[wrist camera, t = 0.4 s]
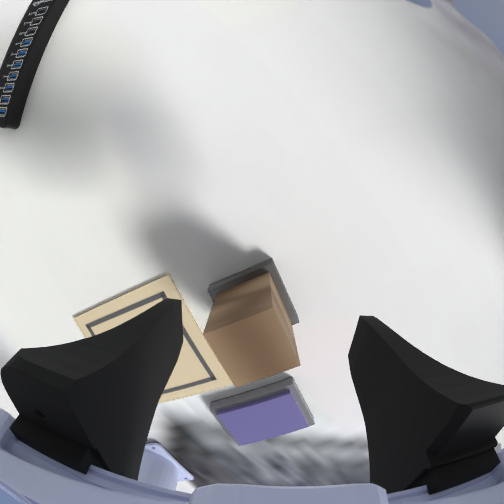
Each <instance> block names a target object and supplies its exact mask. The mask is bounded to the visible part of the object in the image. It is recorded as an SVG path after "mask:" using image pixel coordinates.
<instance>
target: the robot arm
mask: <svg viewBox="0 0 504 504" xmlns="http://www.w3.org/2000/svg"><path fill="white" fill-rule="evenodd" d="M182 344H183V322H182V300H178V299H171V298H166V299H164V300H162V301H161V302H159V303H157V304H156V305H154V306H152V307H151V308H149V309H147V310H146V311H144V312H142V313H141V314H139V315H137V316H135V317H134V318H132V319H130V320H128V321H126V322H124V323H122V324H120V325H118V326H116V327H114V328H112V329H110V330H107V331H105V332H102V333H100V334H97V335H95V336H92V337H88V338H85V339H81V340H78V341H75V342H71V343H66V344H61V345H55V346H49V347H39V348H23V349H20V350H19V351H18V352H17V353H16V354H15V355H14V356H13V357H12V358H11V359H10V360H9V361H8V362H7V363H6V365H5V366H4V367H3V368H2V369H1V379H2V383H3V385H4V387H5V390H6V391H7V393H8V395H9V397H10V399H11V400H12V402H13V404H14V406H15V407H16V409H17V411H18V412H19V416H18V417H17V418H16V420H15V419H14V418H13V417H12V416H11V415H10V414H9V413H8V412H6V411H5V410H3V409H1V408H0V487H1V488H2V489H3V490H4V491H6V492H7V493H9V494H10V495H11V496H13V497H14V498H15V499H17V500H18V501H20V502H21V503H23V504H504V448H503V449H502V450H500V451H499V452H498V453H496V451H495V449H494V447H496V446H497V444H498V442H497V440H496V438H495V436H496V435H497V434H498V432H499V431H500V430H501V429H502V428H503V426H504V385H501V384H496V383H491V382H487V381H483V380H480V379H477V378H474V377H471V376H468V375H466V374H463V373H460V372H458V371H456V370H454V369H451V368H449V367H447V366H445V365H443V364H441V363H440V362H438V361H436V360H434V359H433V358H431V357H429V356H428V355H426V354H424V353H423V352H421V351H420V350H419V349H417V348H416V347H414V346H413V345H411V344H410V343H409V342H407V341H406V340H405V339H403V338H402V337H401V336H399V335H398V334H397V333H396V332H394V331H393V330H392V329H390V328H389V327H388V326H387V325H385V324H384V323H383V322H381V321H380V320H379V319H377V318H375V317H374V316H360V317H359V320H358V324H357V327H356V331H355V334H354V337H353V341H352V344H351V347H350V351H349V354H348V358H349V365H350V371H351V376H352V380H353V383H354V387H355V390H356V393H357V396H358V400H359V403H360V406H361V410H362V413H363V417H364V421H365V426H366V433H367V440H368V450H369V461H370V483H367V484H344V485H331V486H310V487H280V486H258V485H245V484H213V485H208V486H203V487H199V488H197V489H195V490H194V492H193V493H192V494H190V493H185V492H180V491H175V490H176V486H177V482H178V481H186V480H193V479H194V476H193V475H192V474H190V473H189V472H188V471H187V470H186V469H185V468H184V467H183V466H182V465H181V464H180V463H179V462H177V461H176V460H175V459H174V458H173V457H172V456H171V455H170V454H169V453H168V452H167V451H166V450H165V449H164V448H163V447H162V446H161V445H160V444H159V443H149V444H146V441H147V437H148V433H149V430H150V426H151V423H152V420H153V416H154V413H155V410H156V407H157V405H158V402H159V400H160V397H161V395H162V393H163V391H164V389H165V387H166V385H167V382H168V380H169V378H170V376H171V374H172V372H173V370H174V367H175V365H176V363H177V361H178V358H179V355H180V351H181V348H182Z"/></svg>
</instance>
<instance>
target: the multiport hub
mask: <svg viewBox="0 0 504 504" xmlns="http://www.w3.org/2000/svg"><path fill="white" fill-rule="evenodd" d="M68 2H69V0H32V2H31V4H30V5H29V7H28V9H27V11H26V13H25V15H24V17H23V18H22V20H21V22H20V24H19V26H18V28H17V31H16V33H15V35H14V37H13V39H12V41H11V44H10V46H9V48H8V51H7V53H6V56H5V58H4V61H3V63H2V66H1V68H0V127H1V128H11V129H17V128H18V127H19V125H20V121H21V118H22V114H23V110H24V107H25V103H26V100H27V97H28V94H29V91H30V88H31V85H32V82H33V79H34V76H35V73H36V71H37V68H38V65H39V63H40V60H41V58H42V55H43V53H44V51H45V48H46V46H47V44H48V41H49V39H50V37H51V35H52V33H53V31H54V29H55V26H56V24H57V22H58V20H59V19H60V17H61V15H62V13H63V11H64V9H65V7H66V5H67V4H68Z"/></svg>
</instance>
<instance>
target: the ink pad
mask: <svg viewBox="0 0 504 504" xmlns="http://www.w3.org/2000/svg"><path fill="white" fill-rule="evenodd" d="M210 411H211V412H212V413H213V415H214V416H215V417H216V418H217V420H218V421H219V422H220V423H221V425H222V426H223V427H224V428H225V430H226V431H227V432H228V433H229V435H230V436H231V437H232V438H233V439H234V441H235V442H236V443H237V444H238V445H245V444H249V443H253V442H258V441H261V440H265V439H269V438H273V437H276V436H280V435H284V434H287V433H290V432H294V431H297V430H300V429H303V428H306V427H309V426H311V425H314V424H315V423H314V418H313V416H312V414H311V412H310V410H309V408H308V406H307V404H306V402H305V400H304V398H303V396H302V394H301V393H300V391H299V389H298V387H297V385H296V383H295V381H294V379H293V377H291V378H288V379H285V380H282V381H279V382H276V383H274V384H271V385H268V386H264V387H261V388H258V389H255V390H252V391H249V392H245V393H242V394H239V395H235V396H232V397H228V398H225V399H221V400H217V401H214V402H211V404H210Z"/></svg>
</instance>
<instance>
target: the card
mask: <svg viewBox="0 0 504 504" xmlns="http://www.w3.org/2000/svg"><path fill="white" fill-rule="evenodd" d="M166 298H171V299H178V300H182V322H183V344H182V348H181V351H180V355H179V358H178V361H177V363H176V365H175V367H174V370H173V372H172V374H171V376H170V378H169V380H168V382H167V385H166V387H165V389H164V391H163V393H162V395H161V397H160V400H159V402H158V404H159V403H163V402H167V401H172V400H176V399H180V398H184V397H188V396H192V395H196V394H200V393H203V392H207V391H211V390H214V389H218V388H221V387H225V386H228V385H231V384H233V383H232V381H231V379H230V378H229V376H228V375H227V373H226V372H225V370H224V368H223V367H222V365H221V364H220V362H219V360H218V359H217V357H216V356H215V354H214V352H213V351H212V349H211V347H210V346H209V344H208V342H207V341H206V339H205V337H204V336H203V334H202V332H201V331H200V329H199V327H198V325H197V324H196V322H195V320H194V318H193V317H192V315H191V313H190V311H189V310H188V308H187V306H186V304H185V302H184V301H183V299H182V297H181V295H180V293H179V292H178V290H177V288H176V286H175V284H174V282H173V280H172V279H171V277H170V275H169V274H168V275H166V276H163V277H161V278H159V279H157V280H155V281H152V282H150V283H148V284H146V285H144V286H142V287H139V288H137V289H135V290H133V291H131V292H128V293H126V294H124V295H122V296H120V297H118V298H115V299H113V300H111V301H109V302H107V303H105V304H102V305H100V306H98V307H96V308H94V309H92V310H89V311H87V312H85V313H83V314H81V315H79V316H77V317H74V318H73V319H74V321H75V322H76V324H77V326H78V327H79V329H80V330H81V332H82V334H83V335H84V337H85V338H88V337H92V336H95V335H97V334H100V333H102V332H105V331H107V330H110V329H112V328H114V327H116V326H118V325H120V324H122V323H124V322H126V321H128V320H130V319H132V318H134V317H135V316H137V315H139V314H141V313H142V312H144V311H146V310H147V309H149V308H151V307H152V306H154V305H156V304H157V303H159V302H161V301H162V300H164V299H166Z"/></svg>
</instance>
